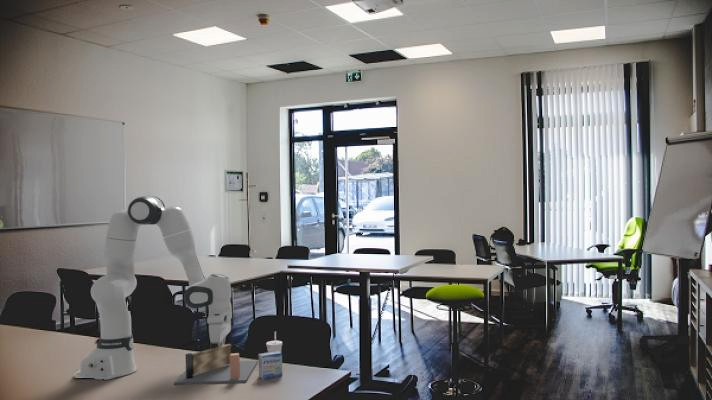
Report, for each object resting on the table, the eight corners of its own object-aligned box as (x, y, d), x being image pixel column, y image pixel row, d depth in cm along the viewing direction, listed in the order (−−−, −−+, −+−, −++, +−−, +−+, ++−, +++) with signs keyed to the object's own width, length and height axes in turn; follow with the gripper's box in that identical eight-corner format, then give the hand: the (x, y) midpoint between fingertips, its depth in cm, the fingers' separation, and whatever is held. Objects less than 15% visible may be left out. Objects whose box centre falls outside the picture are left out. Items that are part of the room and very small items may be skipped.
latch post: (230, 381, 198) (229, 355, 198) (232, 379, 201) (231, 353, 201) (238, 381, 198) (237, 355, 198) (240, 378, 201) (239, 353, 201)
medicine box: (262, 379, 199) (261, 356, 199) (258, 376, 203) (257, 353, 203) (282, 376, 203) (282, 352, 203) (278, 372, 207) (278, 350, 207)
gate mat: (174, 384, 197) (174, 382, 197) (193, 364, 221) (193, 362, 221) (246, 382, 197) (246, 380, 197) (257, 362, 221) (257, 360, 221)
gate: (194, 374, 202) (193, 354, 202) (190, 373, 204) (189, 353, 204) (232, 363, 216) (231, 344, 216) (228, 362, 217) (227, 343, 217)
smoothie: (280, 369, 210) (278, 333, 210) (264, 369, 211) (263, 333, 211) (285, 364, 216) (284, 329, 216) (270, 364, 218) (269, 329, 218)
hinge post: (185, 380, 200) (184, 355, 200) (187, 378, 203) (186, 353, 203) (191, 380, 200) (191, 354, 200) (193, 378, 203) (193, 353, 203)
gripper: (219, 309, 229) (220, 342, 229) (205, 320, 208) (206, 356, 208) (234, 309, 229) (235, 341, 229) (222, 319, 208) (223, 355, 208)
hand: (221, 348), depth 218 cm, fingers closed
